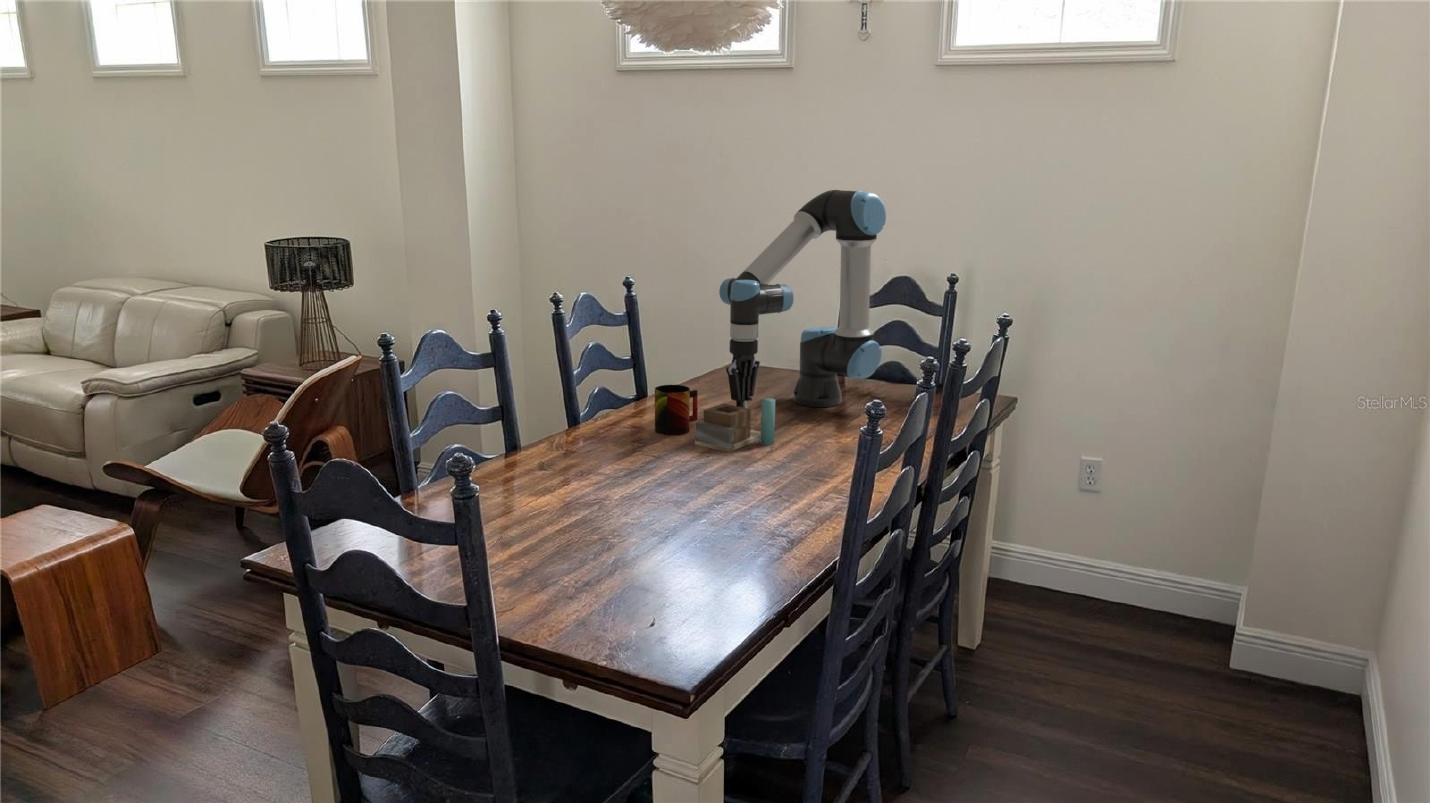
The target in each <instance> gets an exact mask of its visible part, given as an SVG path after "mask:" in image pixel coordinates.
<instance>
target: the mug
mask: <svg viewBox="0 0 1430 803" xmlns="http://www.w3.org/2000/svg"><path fill="white" fill-rule="evenodd" d="M698 392H699V391H698V390H697V389H693V390H690V387H688V386H686V385H682V384H681V385H680V384H663V385H658V386H656V387H655V388H654V432H655V433H656V434H658V435H661V436H668V437H671V436H672V437H673V436H674V437H675V436H682V435H683V436H684V435H686V434H687V435H688V434H689V433H690V423H692V422H697V421H698V413H699V412H698ZM691 398H692V414H691V415H690V412H691V411H690V410H691V409H690V408H691V407H690V406H691V405H690V403H691V402H690V401H691V400H690V399H691Z"/></svg>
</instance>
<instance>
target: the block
mask: <svg viewBox="0 0 1430 803" xmlns="http://www.w3.org/2000/svg"><path fill="white" fill-rule="evenodd" d="M751 410H752V409H751V408H749V407H748V408H744V407H739V406H736V405H734V404H733V405H732V404H728V403H721V404H718V405H714V406H712V407H709V408H706V409H704V410H703V416H702V417H703V418H702V419H703V422H707V423H712V424H717V425H721V426H726V427H731V428H734V444H736V443H738V442H741V441H743V440H746V439H748V438H750V430H751V422H752V420H751V417H752V416H751V413H752V411H751Z"/></svg>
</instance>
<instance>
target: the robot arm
mask: <svg viewBox="0 0 1430 803" xmlns="http://www.w3.org/2000/svg"><path fill="white" fill-rule="evenodd" d="M886 219H887V211H886V207H885V204H884V202H883V200H882V199H881V198H880V197H879V196H878V195H877V194H875V193H873V192H868V191H866V190H865V191H863V190H842V189H841V190H840V189H830V190H827V191H825V192H822V193H820V194H818V195H816V196H814V198H812V199H810V200H809V201H808V202H806V203H805V204H804V205H803V206H802V207H801V208H800V209H799V210H798V211H797V212H796V213H795V214H794V215H793V220H792V222H791V223H790V224H788V225H787V226H786V228H784V230H782V232H781V233H780V234H779V235H778V236H776V238H775V239H774V240H772V242H771V243H770V244H769V245H768V246H767V247H766V248H764V250H763V251H762V252H761V253H760V254H759V255H758V256H757V257H756V258H755V259H754V260H753V261H752V262H751V263H750V264H749V265H748V266H747V267H745V269H744V270H743V271H742V272H741V273H740V274H739V275H738V276H736V278H735V277H732V278H730V277H729V278H726V279H724V280H723V281H722V283H721V284H720V286H719V291H718V292H719V298H720V300H721V301H722V302H723V303H724V304H725V305H729V306H730V307H729V308H730V310H729V312H730V314H729V316H730V322H729V323H730V324H729V325H730V326H729V327H730V328H729V337H730V339H729V353H730V354H731V355H732V360H731V365H730V366H726V369H725V371H726V373H727V377H728V385H729V393H730V399H731V400H732V401H735V402H736V403H735V404H736V405H735V406H739V407H744V408H749V401H750V402H751V401H752V400H753V397H754V394H755V388H756V382H757V375H758V370H759V366H760V363H761V361H759V360H756V359H755V355H756V354H758V350H759V349H758V347H759V344H758V342H759V341H758V338H759V320H760V318H759V317H760V316H759V315H769V314H775V313H776V314H780V313H783V312H786V311H789V310H790V309H791V308H792V307H793V304H794V292H793V289H791V287H790V286H789V285H787V284H783V283H776V284H769V283H771V282H772V281H773V279H775V277H777V275H779V273H780V272H782V271H783V269H784V268H785V267H786V266H787V265H789V263H790V262H791V261H792V260H793V259H794V258H795V257H796V256H797V255H798V254H799V253H800V252H801V250H803V249H804V248H805V247H806V246H807V245H808V243H810V241H812V240H814V239H815V240H816V239H818V238H820V236H821V235H823V234H824V233H825V232H829V231H833V232H835V240H836V242H838V243H839V245H840V279H839V280H840V282H839V284H840V285H839V326H838V327H837V326H835V327H834V326H823V327H822V326H821V327H813V328H806V329H804V330H803V331H802V332H801V334H800V342H799V373H798V374H799V376H798V378H797V382H796V385H795V386H794V390H793V393H792V401H793V403H795V404H797V405H801V406H804V407H805V406H806V407H810V408H811V407H815V408H828V407H834V406H839V405H840V404H842V401H843V400H842V399H843V398H842V397H843V396H842V395H843V394H842V391H841V387H840V384H839V380H838V375H843V376H846V377H849V378H852V379H867V378H869V377H871V376H872V375H873V374H874V373H875V372H876V370H877V369H878V367H879V365H880V363H881V360H882V354H883V353H882V346H880V344H879V343H878V342H877V341H876V340H874V339H875V337H874V335H875V334H874V333H875V332H874V330H872V328H870V325H869V324H870V297H871V296H870V293H871V292H870V291H871V261H872V245H873V244H874V243H875V241H877V237H878V236H877V235H878V234H879V233H881V231H883V228H884V226H885V224H886V221H887V220H886Z"/></svg>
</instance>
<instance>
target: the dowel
mask: <svg viewBox="0 0 1430 803" xmlns="http://www.w3.org/2000/svg"><path fill="white" fill-rule="evenodd" d="M760 417H761V418H760V432H761V439H760V445H763V446H772V445H773V446H774V444H775V421H776V418H775V417H776V399H775V398H770V397H764V398H762V399H761V416H760Z"/></svg>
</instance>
